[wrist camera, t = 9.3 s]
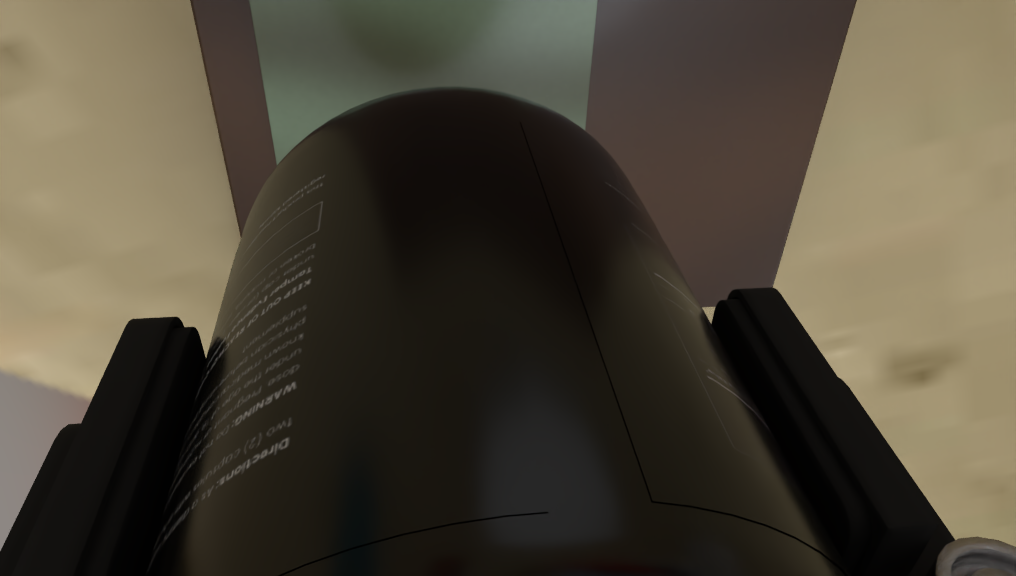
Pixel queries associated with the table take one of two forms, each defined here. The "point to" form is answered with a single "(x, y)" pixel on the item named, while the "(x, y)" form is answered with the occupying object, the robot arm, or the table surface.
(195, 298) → the table surface
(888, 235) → the table surface
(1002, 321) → the table surface
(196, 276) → the table surface
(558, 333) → the supplement bottle
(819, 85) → the walnut board
